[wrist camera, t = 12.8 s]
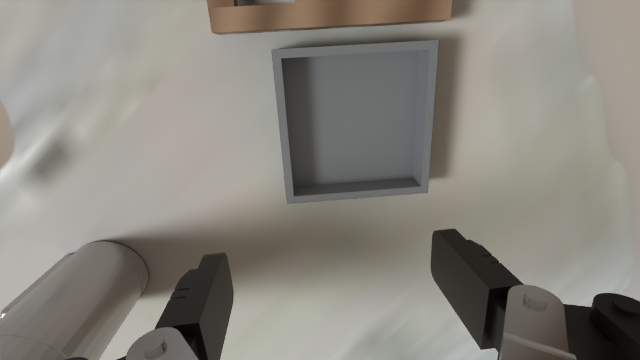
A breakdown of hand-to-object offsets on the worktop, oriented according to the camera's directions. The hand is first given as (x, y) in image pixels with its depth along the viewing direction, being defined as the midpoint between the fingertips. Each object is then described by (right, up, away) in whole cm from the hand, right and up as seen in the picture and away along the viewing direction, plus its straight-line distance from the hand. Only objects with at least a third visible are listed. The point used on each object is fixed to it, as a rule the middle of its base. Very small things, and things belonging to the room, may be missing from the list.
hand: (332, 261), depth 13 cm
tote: (+3, +10, +24) cm, 26 cm away
